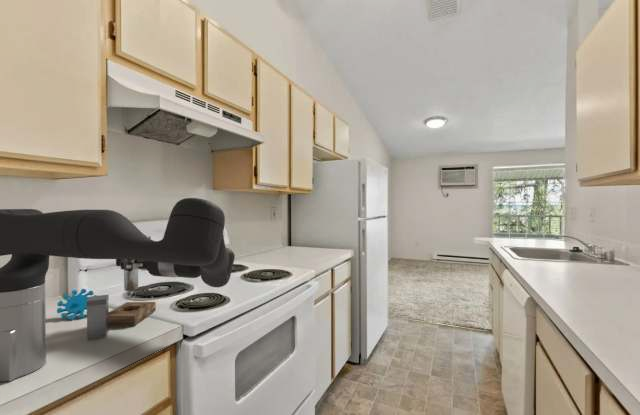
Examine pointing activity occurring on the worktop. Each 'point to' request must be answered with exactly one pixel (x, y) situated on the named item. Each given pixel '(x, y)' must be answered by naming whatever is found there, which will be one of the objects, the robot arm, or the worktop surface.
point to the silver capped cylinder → (131, 280)
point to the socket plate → (131, 313)
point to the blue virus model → (74, 304)
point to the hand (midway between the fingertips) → (123, 260)
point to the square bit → (97, 317)
